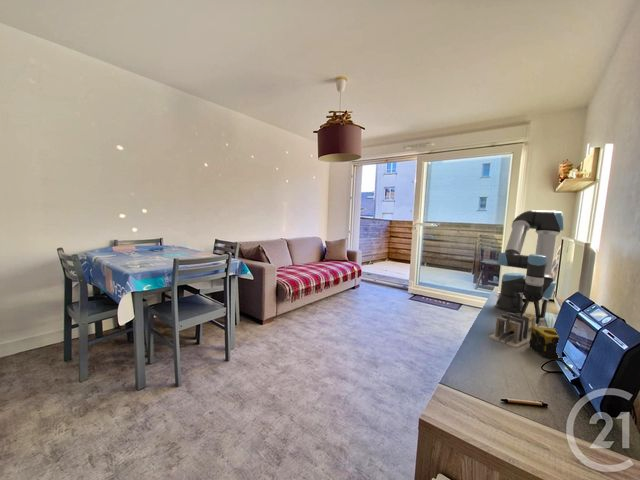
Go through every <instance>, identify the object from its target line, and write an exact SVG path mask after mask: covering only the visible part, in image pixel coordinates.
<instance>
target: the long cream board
mask: <svg viewBox="0 0 640 480" xmlns="http://www.w3.org/2000/svg"><path fill="white" fill-rule="evenodd" d="M537 327H544V328H548V327H547V326H544V325H542V320H540V323H539V324H537ZM531 329H532V327H531V328H529V329H528V337H527V339H525V338H523V336H522V342H520V341H519V342H518V343H517V344H515V343H513V340H514V332H513V331H510V330H509V331H507V332H505V328H504V333H503V334H500V336H499V337H496V336H495V333H494V334H491V335H489V339H492V340H494V341H496V342H497V341H498V342H500V343H502V344H505V345H508V346H511V347H514V348H515V349H519V348H520V347H522V346H524V345H526V344H528V343H529V342H530V337H531ZM523 332H524V331H523Z"/></svg>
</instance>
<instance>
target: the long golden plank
mask: <svg viewBox="0 0 640 480" xmlns="http://www.w3.org/2000/svg"><path fill="white" fill-rule="evenodd" d="M523 317H527V318H530V321H529V328H531V327H533V322H534V317H536V315H534V314H530V313H526V315H524V316H523ZM517 319H518V318H517ZM520 320H521V319H520ZM524 324H525V321H524ZM508 330H510V331H513V332H515V325H513V324H510V323H509V328H508ZM523 331H524V328H523Z"/></svg>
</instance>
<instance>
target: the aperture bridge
mask: <svg viewBox="0 0 640 480" xmlns="http://www.w3.org/2000/svg"><path fill="white" fill-rule="evenodd" d="M495 321H496V322H495V332H494V334H495V336H496V337H499V336H500V331H501V322H502V321H504V322H505V323H506V321H508V319H505V318H502V317H501V316H498V317H496V320H495ZM509 323H510V324H513V325H515V332H514V340H513V343H515V344H517V343H518V342H519V334H520V326H521V323H518V322H515V321H511V320H510V321H509Z"/></svg>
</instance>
